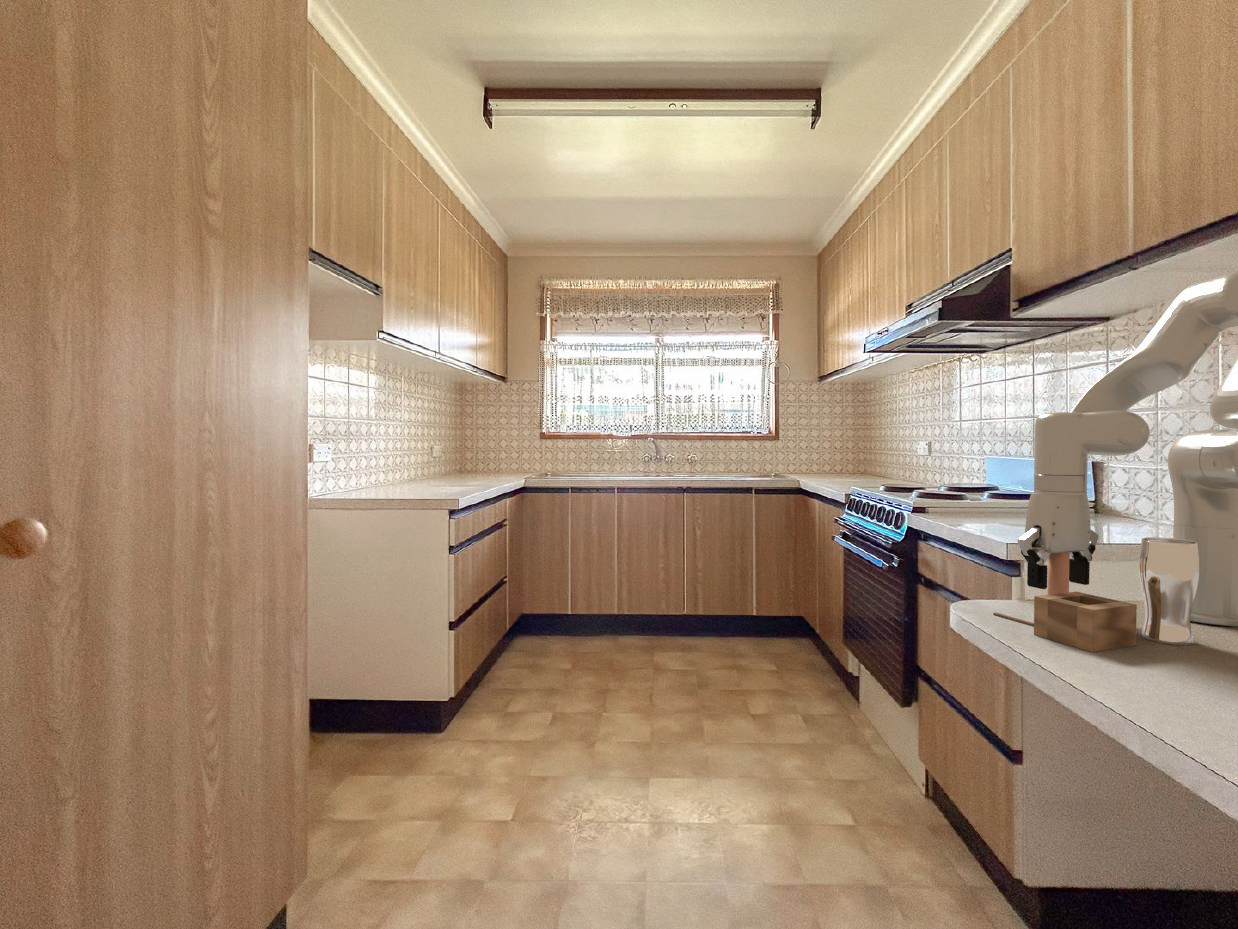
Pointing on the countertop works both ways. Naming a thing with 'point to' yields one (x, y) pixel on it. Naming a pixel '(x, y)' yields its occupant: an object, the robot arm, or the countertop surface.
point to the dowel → (1058, 573)
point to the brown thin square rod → (1014, 619)
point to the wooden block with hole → (1085, 621)
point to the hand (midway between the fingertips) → (1058, 585)
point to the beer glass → (1168, 588)
